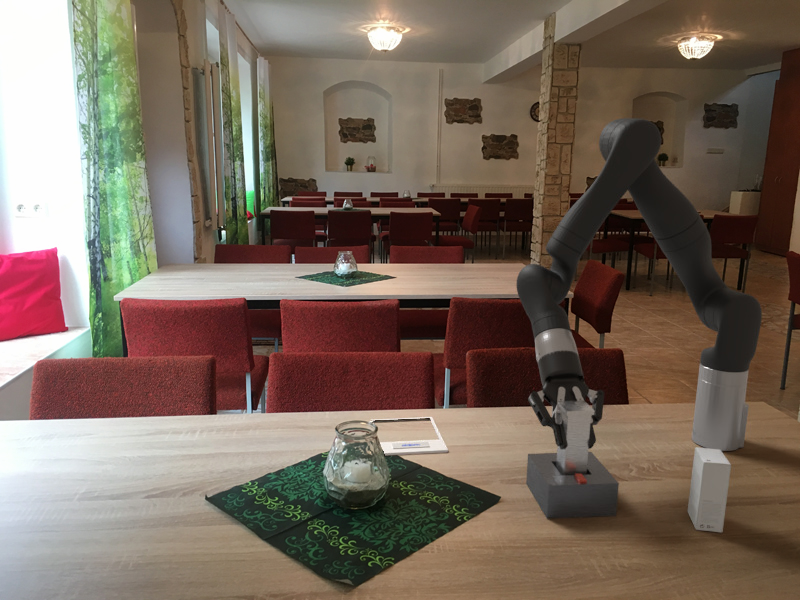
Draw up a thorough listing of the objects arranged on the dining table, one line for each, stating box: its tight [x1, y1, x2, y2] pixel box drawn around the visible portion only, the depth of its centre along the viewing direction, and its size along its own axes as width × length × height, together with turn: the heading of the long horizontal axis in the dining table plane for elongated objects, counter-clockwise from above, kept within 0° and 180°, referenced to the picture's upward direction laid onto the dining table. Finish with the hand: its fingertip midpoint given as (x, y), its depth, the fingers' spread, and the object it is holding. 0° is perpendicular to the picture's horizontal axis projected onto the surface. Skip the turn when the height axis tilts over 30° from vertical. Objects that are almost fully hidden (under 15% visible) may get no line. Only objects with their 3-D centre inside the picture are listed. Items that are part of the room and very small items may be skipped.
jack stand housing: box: [525, 451, 620, 520], centre depth 112 cm, size 12×12×6 cm
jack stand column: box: [556, 400, 595, 476], centre depth 111 cm, size 5×5×17 cm
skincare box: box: [687, 446, 732, 533], centre depth 105 cm, size 6×4×12 cm
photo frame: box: [369, 416, 449, 457], centre depth 139 cm, size 15×1×18 cm
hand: (577, 447), depth 109 cm, fingers closed on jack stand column, 4 cm apart
